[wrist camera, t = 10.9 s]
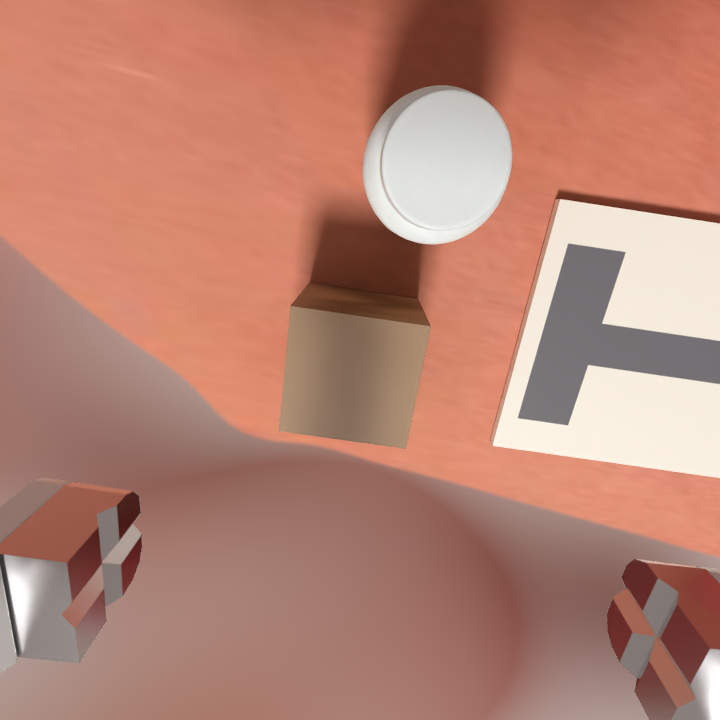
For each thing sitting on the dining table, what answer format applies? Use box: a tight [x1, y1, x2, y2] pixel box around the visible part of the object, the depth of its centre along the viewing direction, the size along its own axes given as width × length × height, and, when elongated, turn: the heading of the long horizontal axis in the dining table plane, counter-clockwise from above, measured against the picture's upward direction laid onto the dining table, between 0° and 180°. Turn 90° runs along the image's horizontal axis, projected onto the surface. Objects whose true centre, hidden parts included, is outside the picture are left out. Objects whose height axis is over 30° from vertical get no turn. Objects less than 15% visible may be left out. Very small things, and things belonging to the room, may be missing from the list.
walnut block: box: [279, 283, 431, 449], centre depth 23 cm, size 6×6×6 cm
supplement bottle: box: [363, 85, 512, 244], centre depth 18 cm, size 5×5×10 cm
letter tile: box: [490, 199, 720, 478], centre depth 25 cm, size 14×14×1 cm
